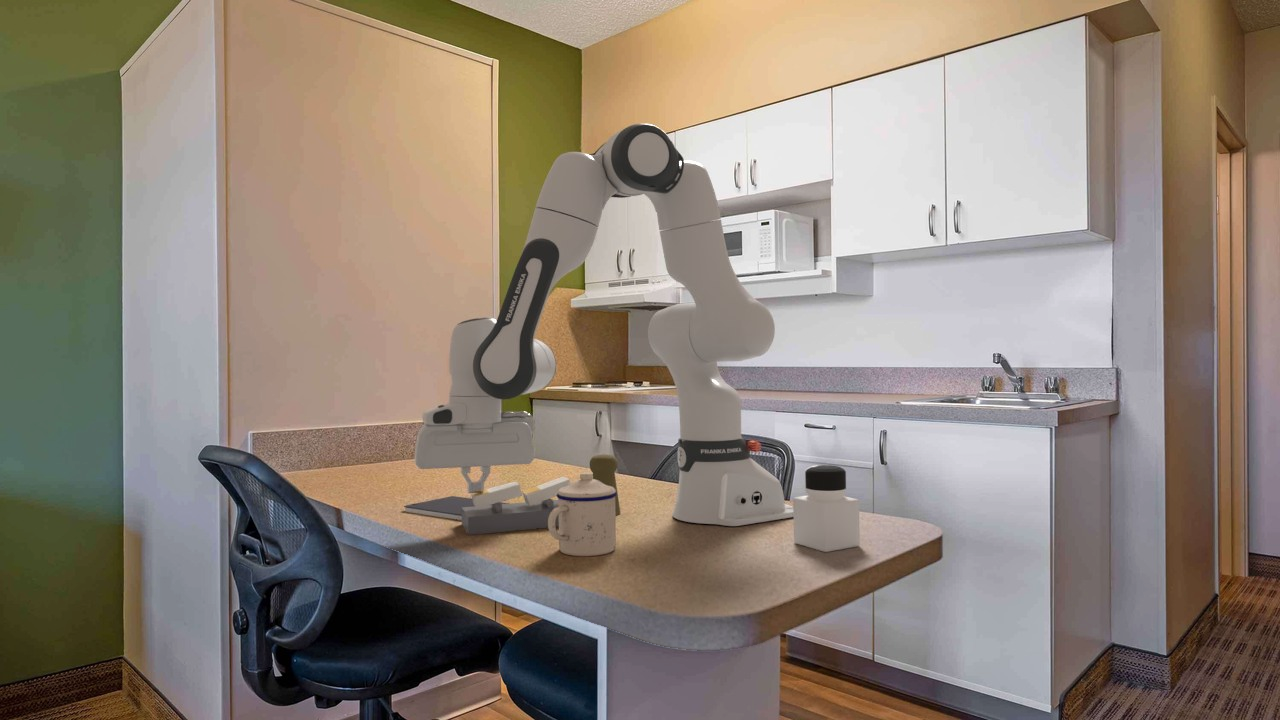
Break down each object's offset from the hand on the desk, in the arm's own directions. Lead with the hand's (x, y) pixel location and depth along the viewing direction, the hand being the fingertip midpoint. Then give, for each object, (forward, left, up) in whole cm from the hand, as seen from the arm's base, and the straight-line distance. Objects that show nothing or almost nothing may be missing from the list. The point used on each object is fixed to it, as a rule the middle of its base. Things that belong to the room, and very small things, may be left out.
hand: (475, 492), depth 134 cm
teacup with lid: (-12, +23, -7) cm, 27 cm away
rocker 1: (-4, 0, -1) cm, 4 cm away
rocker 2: (-13, 0, -2) cm, 13 cm away
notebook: (0, -17, -7) cm, 19 cm away
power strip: (-11, 0, -6) cm, 13 cm away
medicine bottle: (-48, +34, -7) cm, 59 cm away
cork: (-24, -3, -7) cm, 25 cm away
